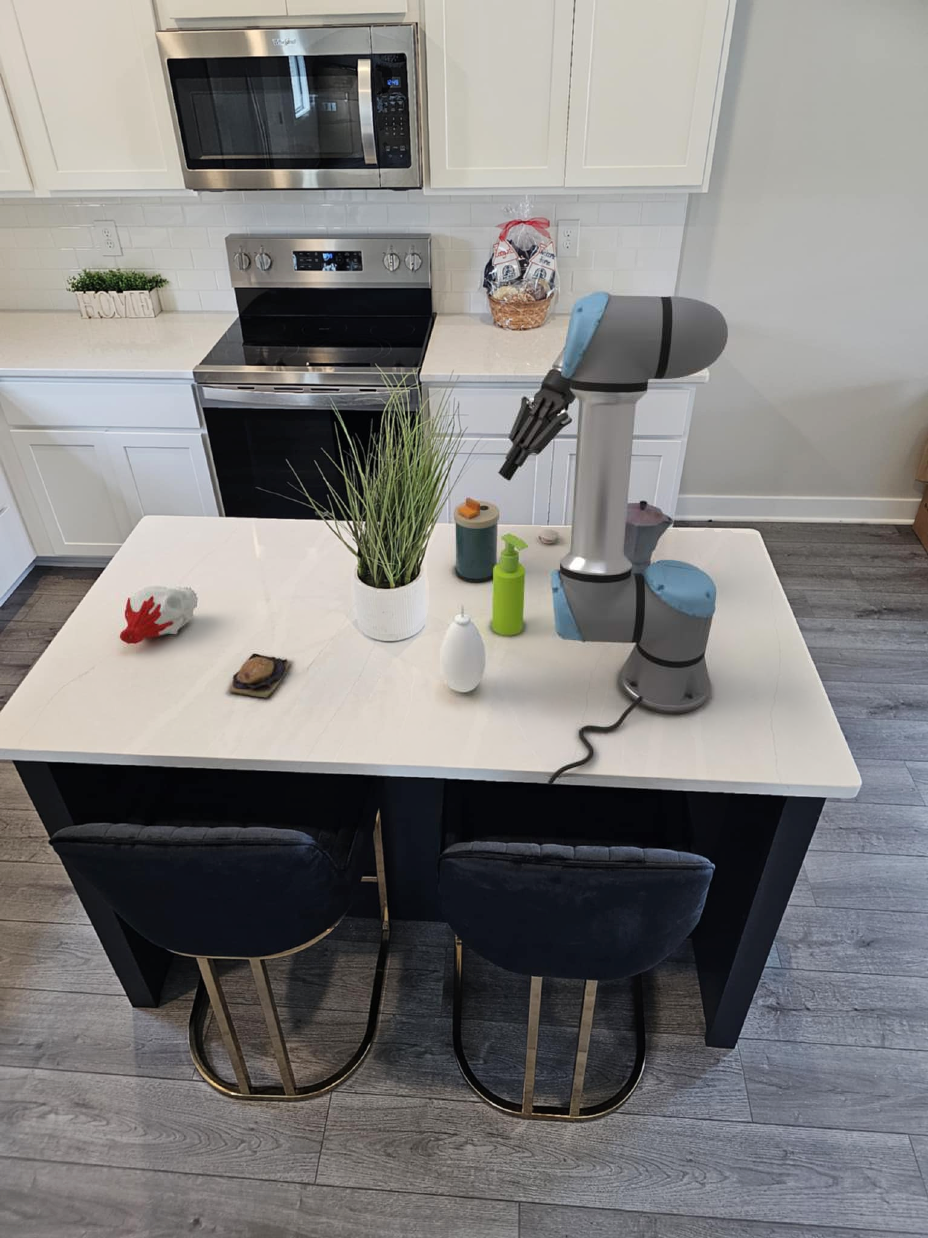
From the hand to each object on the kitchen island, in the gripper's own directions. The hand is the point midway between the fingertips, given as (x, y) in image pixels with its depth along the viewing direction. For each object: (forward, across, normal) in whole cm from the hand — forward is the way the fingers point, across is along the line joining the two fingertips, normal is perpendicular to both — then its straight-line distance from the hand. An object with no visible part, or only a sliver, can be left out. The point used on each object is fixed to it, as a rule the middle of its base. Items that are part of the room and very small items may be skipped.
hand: (504, 476), depth 173 cm
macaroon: (+4, -1, -24) cm, 24 cm away
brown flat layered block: (+57, -1, +28) cm, 63 cm away
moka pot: (+6, -24, -23) cm, 34 cm away
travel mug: (+19, 0, -9) cm, 21 cm away
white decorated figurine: (+63, +24, +34) cm, 75 cm away
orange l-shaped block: (+10, 0, +3) cm, 11 cm away
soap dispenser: (+26, -19, -3) cm, 32 cm away
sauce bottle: (+39, -27, +10) cm, 48 cm away
